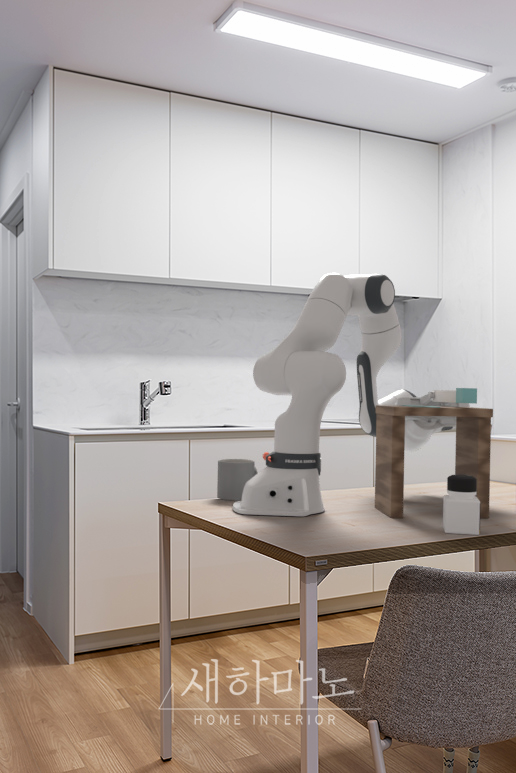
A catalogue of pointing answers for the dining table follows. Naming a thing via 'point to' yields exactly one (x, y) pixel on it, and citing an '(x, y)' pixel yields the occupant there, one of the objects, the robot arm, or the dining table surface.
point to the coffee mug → (234, 477)
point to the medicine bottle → (461, 506)
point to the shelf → (468, 459)
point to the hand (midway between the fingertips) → (440, 394)
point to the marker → (456, 395)
